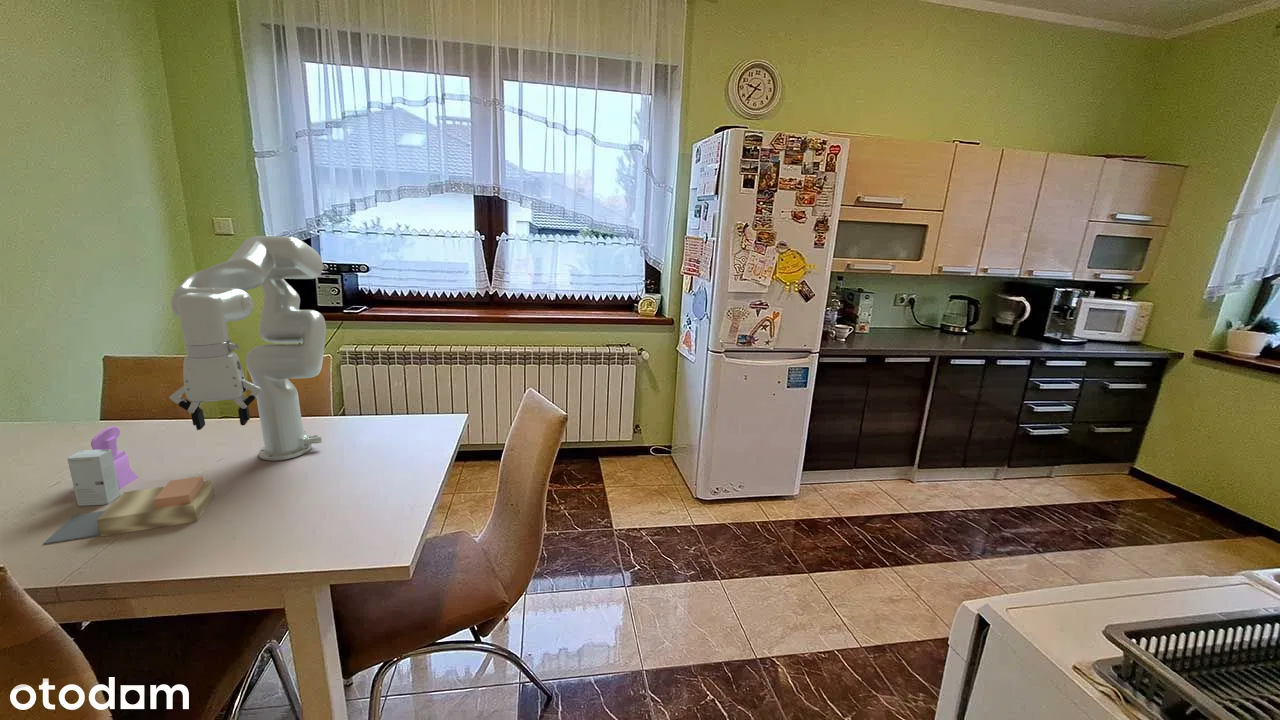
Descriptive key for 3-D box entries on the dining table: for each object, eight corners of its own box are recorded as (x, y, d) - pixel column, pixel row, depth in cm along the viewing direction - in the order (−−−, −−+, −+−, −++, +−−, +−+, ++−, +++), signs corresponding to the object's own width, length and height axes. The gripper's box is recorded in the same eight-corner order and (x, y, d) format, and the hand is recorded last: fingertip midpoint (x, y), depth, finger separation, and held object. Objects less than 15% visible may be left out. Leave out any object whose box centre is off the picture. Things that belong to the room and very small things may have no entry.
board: (214, 495, 125) (211, 480, 124) (197, 521, 114) (193, 505, 113) (128, 507, 118) (124, 492, 117) (101, 536, 108) (96, 519, 107)
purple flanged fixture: (101, 477, 131) (87, 422, 127) (141, 475, 133) (128, 421, 129) (73, 493, 123) (57, 436, 119) (116, 491, 125) (102, 434, 121)
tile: (204, 483, 122) (202, 476, 122) (190, 502, 114) (188, 494, 114) (171, 488, 120) (170, 480, 119) (155, 507, 112) (153, 499, 111)
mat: (127, 508, 118) (126, 507, 118) (102, 535, 108) (102, 533, 108) (73, 516, 114) (73, 515, 114) (43, 544, 105) (43, 543, 105)
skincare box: (77, 506, 118) (63, 458, 115) (92, 496, 122) (79, 450, 119) (109, 504, 119) (97, 456, 116) (123, 494, 124) (111, 448, 120)
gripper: (261, 343, 119) (272, 415, 124) (164, 348, 112) (180, 424, 117) (253, 351, 112) (265, 426, 117) (150, 357, 105) (167, 437, 110)
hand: (223, 425), depth 117 cm, fingers open, 7 cm apart
